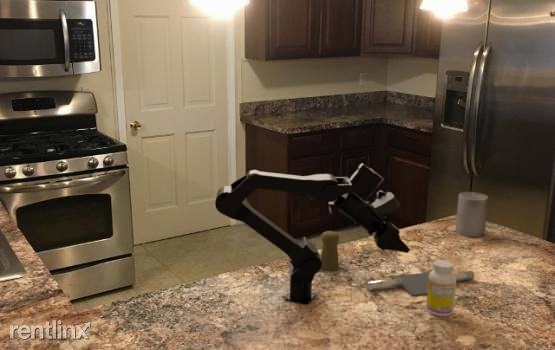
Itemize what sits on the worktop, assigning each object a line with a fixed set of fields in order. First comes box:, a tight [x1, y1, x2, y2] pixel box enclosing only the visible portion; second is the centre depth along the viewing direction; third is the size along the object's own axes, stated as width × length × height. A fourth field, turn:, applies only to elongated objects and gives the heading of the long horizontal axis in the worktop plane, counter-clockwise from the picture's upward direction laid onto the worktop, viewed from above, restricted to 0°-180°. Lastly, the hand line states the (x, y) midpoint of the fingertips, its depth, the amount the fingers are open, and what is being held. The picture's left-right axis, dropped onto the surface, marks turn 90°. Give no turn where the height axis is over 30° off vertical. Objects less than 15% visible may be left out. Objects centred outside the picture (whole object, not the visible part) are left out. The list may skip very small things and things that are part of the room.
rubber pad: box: [391, 272, 430, 297], centre depth 155 cm, size 12×12×1 cm
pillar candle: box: [454, 191, 489, 238], centre depth 195 cm, size 10×10×15 cm
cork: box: [320, 230, 340, 273], centre depth 164 cm, size 6×6×11 cm
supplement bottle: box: [425, 259, 457, 317], centre depth 139 cm, size 7×7×13 cm
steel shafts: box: [365, 270, 475, 291], centre depth 155 cm, size 32×2×2 cm, turn 105°
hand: (403, 244), depth 144 cm, fingers open, 9 cm apart
